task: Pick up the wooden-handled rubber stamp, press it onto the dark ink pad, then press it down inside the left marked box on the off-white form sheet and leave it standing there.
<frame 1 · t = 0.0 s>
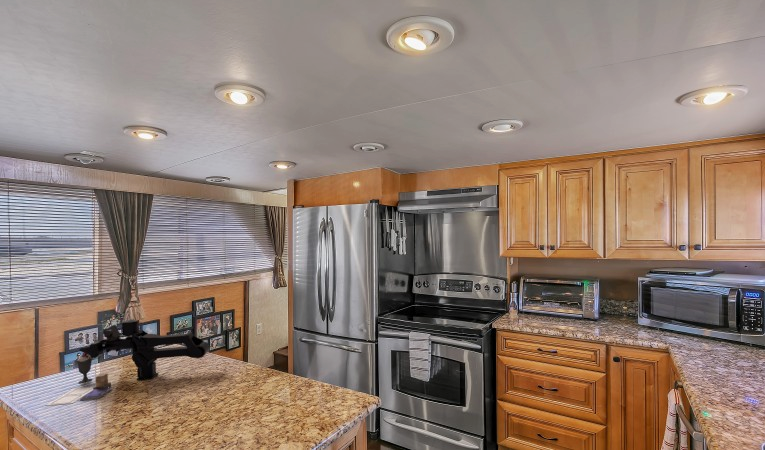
hand: (87, 346, 166), 17 cm above the counter, tool horizontal, fingers open, 9 cm apart
ink pad: (96, 395, 151), on the counter
sundae: (85, 381, 167), on the counter
form sheet: (73, 395, 152), on the counter
stamp: (102, 388, 158), on the counter
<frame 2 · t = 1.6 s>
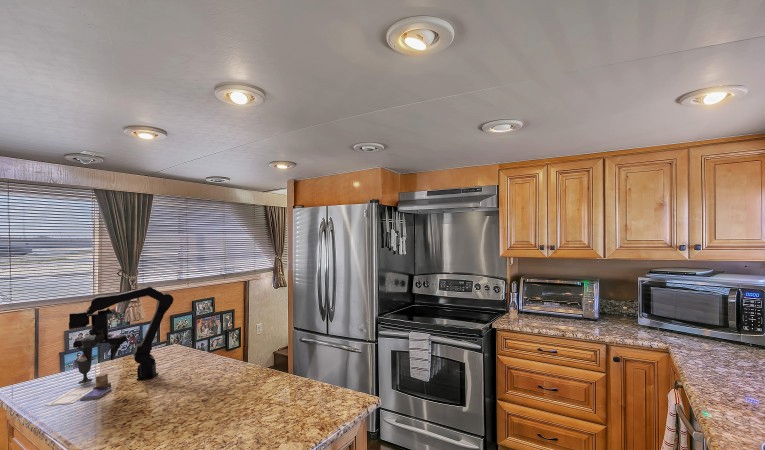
hand: (101, 361, 158), 12 cm above the counter, tool pointing down, fingers open, 9 cm apart
nothing on the counter moved.
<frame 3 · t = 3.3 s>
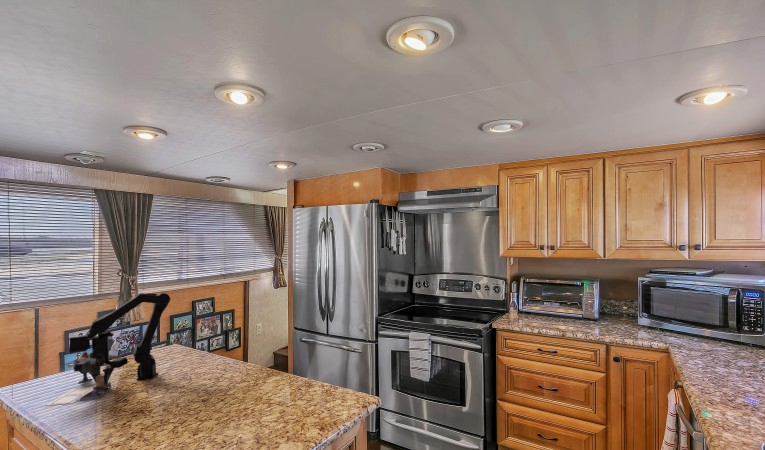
hand: (102, 383, 158), 2 cm above the counter, tool pointing down, fingers closed on stamp, 3 cm apart
stamp: (102, 388, 158), on the counter, touching gripper
everything else where it was.
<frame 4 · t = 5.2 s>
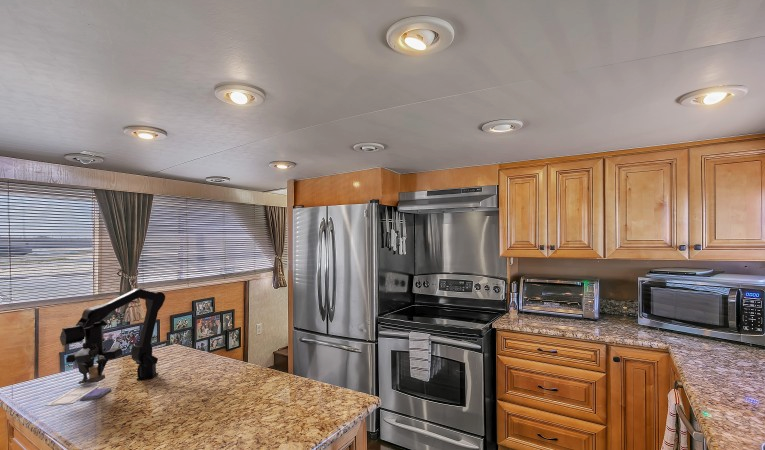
hand: (95, 375, 151), 8 cm above the counter, tool pointing down, fingers closed on stamp, 3 cm apart
stamp: (95, 380, 151), point 6 cm above the counter, touching gripper
everything else where it was.
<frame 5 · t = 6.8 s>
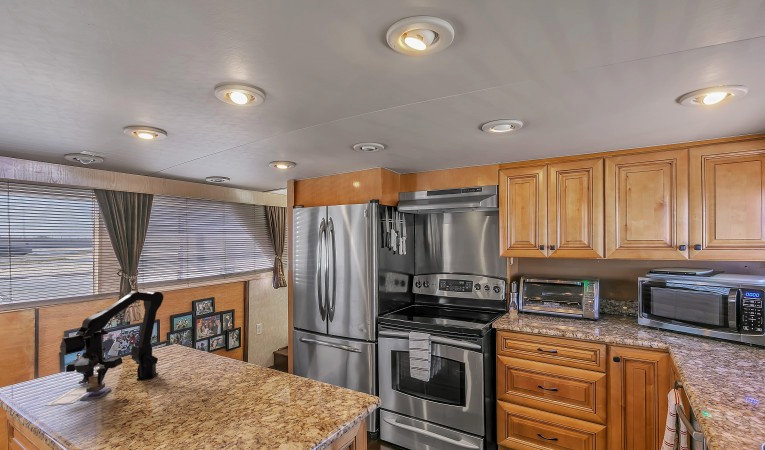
hand: (95, 384, 151), 4 cm above the counter, tool pointing down, fingers closed on stamp, 3 cm apart
stamp: (95, 389, 151), point 2 cm above the counter, touching gripper
everything else where it was.
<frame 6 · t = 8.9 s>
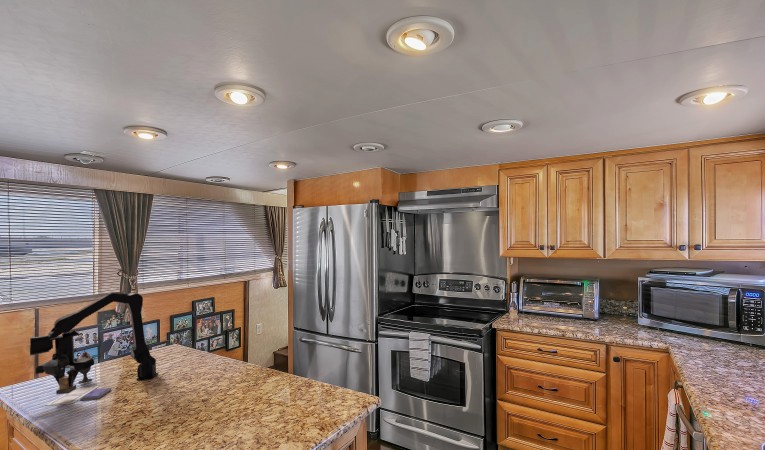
hand: (66, 386, 148), 5 cm above the counter, tool pointing down, fingers closed on stamp, 3 cm apart
stamp: (66, 391, 148), point 3 cm above the counter, touching gripper
everything else where it was.
when the fingers open (2 cm above the counter, at t = 10.6 s): stamp stays where it is, resting on form sheet.
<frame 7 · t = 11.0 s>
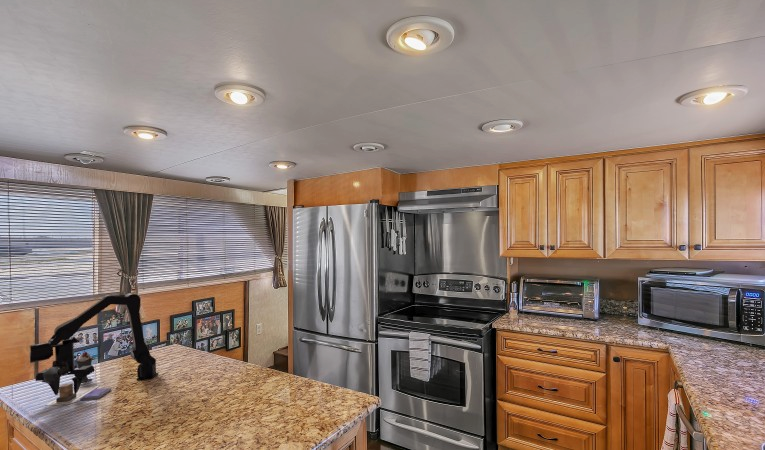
hand: (66, 393, 148), 2 cm above the counter, tool pointing down, fingers open, 7 cm apart
stamp: (66, 399, 148), resting on form sheet
everything else where it was.
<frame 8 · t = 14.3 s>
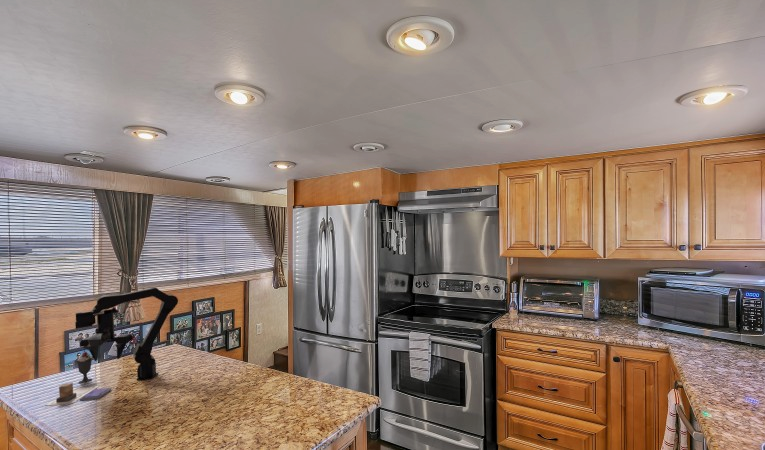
hand: (107, 359, 159), 12 cm above the counter, tool pointing down, fingers open, 9 cm apart
nothing on the counter moved.
at the end: stamp 0.1 cm from the target spot on the form sheet, point 0.2 cm above the form sheet's base; stamp tilted 0°; the gripper is holding nothing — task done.
